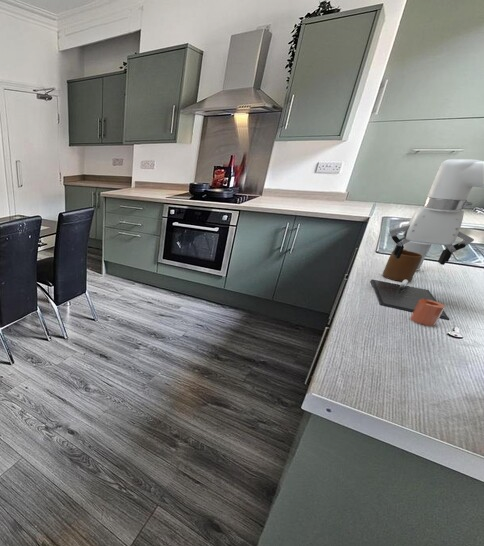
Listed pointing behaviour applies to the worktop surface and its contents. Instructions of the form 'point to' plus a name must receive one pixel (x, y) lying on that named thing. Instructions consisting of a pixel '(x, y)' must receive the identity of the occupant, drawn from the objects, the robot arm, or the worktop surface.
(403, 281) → the stylus
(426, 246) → the beverage can
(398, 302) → the plate
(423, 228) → the robot arm
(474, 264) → the worktop surface
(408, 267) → the mug
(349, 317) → the worktop surface
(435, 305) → the pen pot
